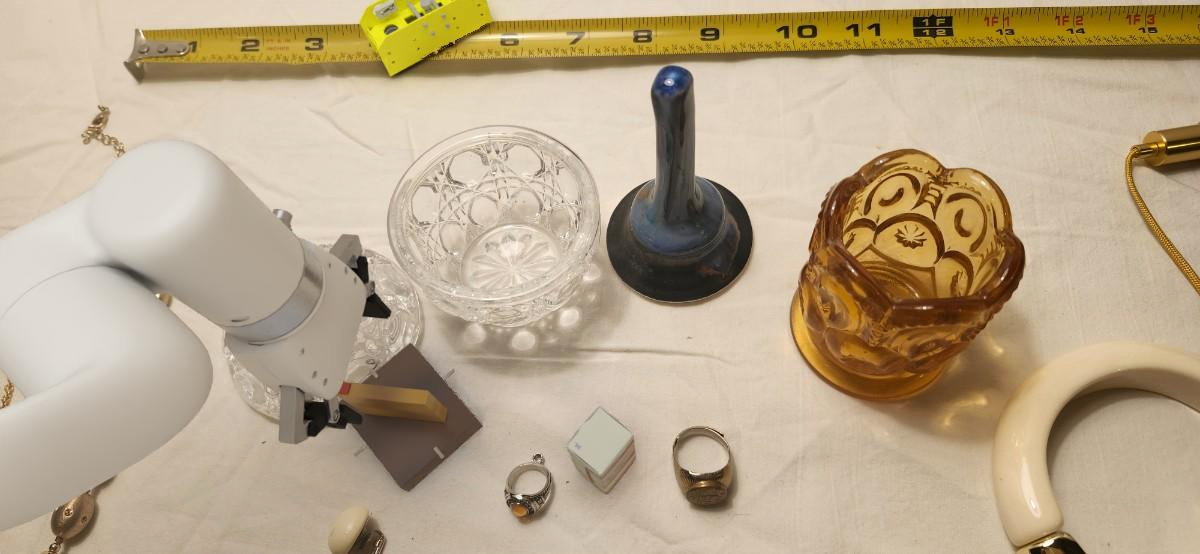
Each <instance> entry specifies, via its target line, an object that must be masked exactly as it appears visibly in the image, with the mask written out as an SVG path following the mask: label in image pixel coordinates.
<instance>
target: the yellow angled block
mask: <svg viewBox="0 0 1200 554" xmlns="http://www.w3.org/2000/svg"><path fill="white" fill-rule="evenodd" d="M337 397H338V398H340V399H341V400H342V399H343V400H345V401H346V402H347V403H349V404H350V405H352V406H353V407H355V408H356V409H358V410H359V411H361V412H362V413H363V414H371V415H380V416H389V417H398V418H407V419H416V420H425V421H434V422H443V423H445V421H446V416H447V412H448V410H447V409H446V408H445V407H444V406H443V405H442V404H441V403H440V402H439V401H438V400H437V399H436V398H435V397H434V396H433V395H432V394H431V393H430V392H429V391H427V390H417V389H408V388H398V387H389V386H379V385H369V384H361V383H358V382H351V381H350V382H349V381H343V384H342V386H341V389H340V390H339V392H338V394H337Z"/></svg>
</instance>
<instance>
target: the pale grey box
mask: <svg viewBox="0 0 1200 554" xmlns="http://www.w3.org/2000/svg"><path fill="white" fill-rule="evenodd" d="M565 448H566V449H567V452H568V455H569V456H570V458H571V461H572V463H573V465H574V467H575V469H576V470H577V471H578V472H579V473H580V474H581V475H582V476H583V477H584V478H585V479H586V480H588V482H590V483H591V484H592V485H593V486H595V487H596V488H597V489H598V490H599V491H601V492H602V493H603V494H605V495H608V494H609V493H610V492H611V491H612V490H613V488H614V487H615V486H616V485H617V484H618V482H619V481H621V479H622V478H623V476H624V475H625V474H626V473H627V471H628V470H629V469H630V467H631V466H632V465H633V464H634V462H635V460H636V458H637V454H636V446H635V436H634V433H633V432H632V431H631V430H630V429H629V428H628V427H627V426H626V425H625V424H624V423H622V422H621V421H620V420H619V419H618V418H617V417H615V416H614V415H613V414H612V413H611V412H610V411H608V410H607V409H606V408H605V407H603V406H602V405H598V406H597V407H596V408H595V409H594V410H593V411H592V412H591V414H590V415H589V416H588V417H587V418H586V419H585V421H584V422H583V423H582V424H581V425H580V426H579V428H578V429H577V430H576V431H575V433H574V434H573V435H572V437H570V439H569V440H568V442H567V443H565Z"/></svg>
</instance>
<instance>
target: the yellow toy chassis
mask: <svg viewBox="0 0 1200 554" xmlns="http://www.w3.org/2000/svg"><path fill="white" fill-rule="evenodd" d="M492 22H493V18H492V14H491V11H490V7H489V4H488V0H376V1H374V2H372V3H370V4H369V5H367V6H366V7H365V9H364V11H363V13H362V15H361V17H360V18H359V20H358V23H359V25H360V27H361V30H363V33H364V35H365V37H366V39H367V41H368V42H369V44H370V46H371V49H372V50H373V52H374V51H376V50H377V51H378V53H379V54H378V55H379V58H380V57H381V58H380V60H381V59H382V60H381V61H382V63H383V65H384V67H385V69H386V70H387V73H388V75H389V77H392V76H394V75H396V74H398V73H400V72H402V71H403V70H405V69H408V68H409V67H411V66H413V65H415V64H416V63H418V62H420V61H423V59H421V57H422V56H424V55H425V54H428V53H429V52H432V51H433V50H435V49H437V48H439V47H441V46H444V45H445V44H447V43H449V42H455V41H454V40H456V39H458V38H461V37H462V36H464V35H466V36H468V35H469V34H468V33H470V34H472V33H473V31H474V32H476V31H478V30H479V29H481V28H482V27H481V26H483V25H485V24H486V23H489V24H491V23H492ZM485 26H486V25H485ZM457 27H458V28H457ZM480 27H481V28H480ZM483 27H484V26H483ZM475 30H476V31H475ZM471 32H472V33H471ZM467 34H468V35H467ZM413 39H415V40H413ZM461 39H462V38H461ZM417 48H419V49H417ZM435 52H436V51H435ZM388 53H389V54H388Z"/></svg>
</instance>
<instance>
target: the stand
mask: <svg viewBox="0 0 1200 554" xmlns="http://www.w3.org/2000/svg"><path fill="white" fill-rule="evenodd" d="M368 371H369V372H370V373H371V374H370V375H369V377H367V378H366V379H364V380H363V381H362V382H361V383H360V384H369V385H379V386H389V387H398V388H408V389H417V390H427V391H429V392H430V393H431V394H432V395H433V396H434V397H435V398H436V399H437V400H438V401H439V402H440V403H441V404H442V405H443V406H444V407H445V408H446V409H447V410H448V412H447V416H446V421H445V423H443V422H434V421H425V420H416V419H407V418H398V417H389V416H380V415H371V414H363V413H362V412H361V411H359V410H358V409H356V408H355V407H353V406H352V405H350V404H349V403H347V402H346V401H345V400H343V399H342V398H341V400H339V401H338V403H339V404H344V405H347V406H348V407H350V408H351V409H353V410H354V411H356V412H357V413H359V414H360V415H362V418H363V420H362V424H361V425H358V424H351V426H352V427H353V428H354V430H355V431H356V432H357V433H358V435H359V436H360V437H361V438H362V440H363V442H364V443H365V444H363V445H362V446H361V447H360V448H359V449H357V450H356V451H355V452H354V453H353V456H354V457H356V458H357V456H359V455H360V454H361V453H362V452H363V451H364V450H365V449H367V447H368V448H369V449H370V450H371V452H372V453H373V454H374V455H375V457H376V458H377V459H378V461H379V462H380V464H381V465H382V466H383V468H384V469H386V471H387V472H388V474H389V475H390V476H391V478H392V479H393V480H394V481H395V483H396V484H397V485H398V486H399V488H400V489H402V490H404V491H406V492H407V493H408V492H411V490H413V489H414V488H415V487H416V486H417V485H418V484H420V482H422V481H423V480H424V479H425V478H426V477H428V475H429V474H431V473H432V472H433V471H434V470H435V469H436V468H438V466H440V465H441V464H442V463H443V462H444V461H445V460H446V459H448V458H449V457H450V456H451V455H452V454H453V453H454V452H455V451H457V450H458V449H459V448H460V447H461V446H462V445H463V444H465V443H466V442H467V441H468V440H469V439H470V438H471V437H472V436H473V435H474V434H476V433H477V432H478V431H479V430H480V429H481V428H483V424H482V423H481V421H480V420H479V419H478V418H477V417H476V416H475V415H474V413H472V411H471V410H470V409H469V408H468V406H467V405H466V404H465V403H464V401H463V400H461V398H460V397H459V396H458V395H457V394H456V392H454V390H453V389H452V388H451V387H450V386H449V385H448V383H447V382H446V380H447V379H448V378H449V377H451V376H452V375H453V374H454V373H455V372H456V369H454V368H452V369H450V371H448V372H447V373H446V374H445V375H444V376H441V375H440V374H439V373H438V372H437V370H436V369H435V368H434V367H433V366H432V365H431V364H430V363H429V361H428V360H427V359H426V358H425V357H424V355H423V354H422V353H421V351H419V350H418V349H417V348H416V347H415V345H414V344H413V343H412V342H409V343H407V345H406V346H404V347H403V348H402V349H400V350H399V351H398V352H397V353H396V354H395V355H393V356H392V357H391V358H390V359H389V360H387V361H386V362H385V363H384V364H383V365H381V366H380V367H379V368H378V369H377V370H374V369H373V367H370V368H369V369H368Z"/></svg>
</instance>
